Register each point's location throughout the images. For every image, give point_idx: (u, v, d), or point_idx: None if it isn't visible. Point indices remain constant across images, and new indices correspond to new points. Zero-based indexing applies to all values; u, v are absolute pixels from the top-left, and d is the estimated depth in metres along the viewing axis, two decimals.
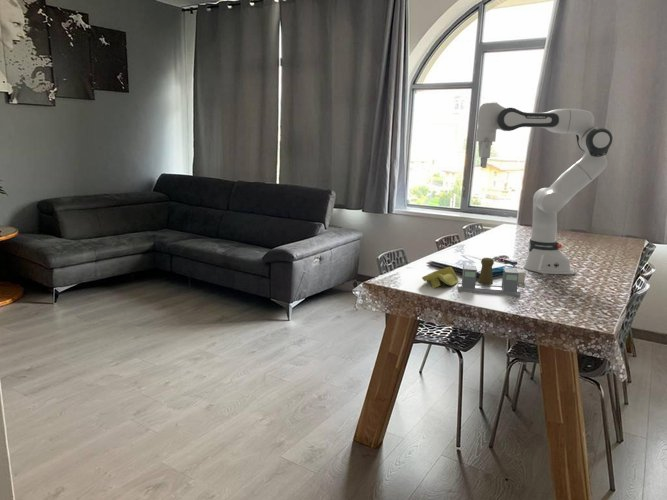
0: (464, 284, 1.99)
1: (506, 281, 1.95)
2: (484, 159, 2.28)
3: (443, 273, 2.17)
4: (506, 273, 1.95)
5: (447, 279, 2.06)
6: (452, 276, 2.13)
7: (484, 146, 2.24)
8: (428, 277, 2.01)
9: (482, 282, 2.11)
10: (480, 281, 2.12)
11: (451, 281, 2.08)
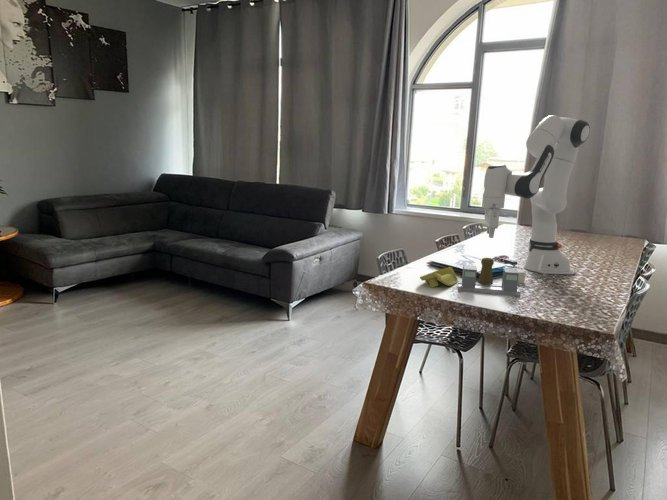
0: (464, 284, 1.99)
1: (506, 281, 1.95)
2: (491, 229, 2.02)
3: (443, 273, 2.17)
4: (506, 273, 1.95)
5: (445, 279, 2.06)
6: (451, 276, 2.12)
7: (491, 215, 1.98)
8: (425, 277, 2.02)
9: (482, 282, 2.11)
10: (480, 281, 2.12)
11: (450, 281, 2.08)
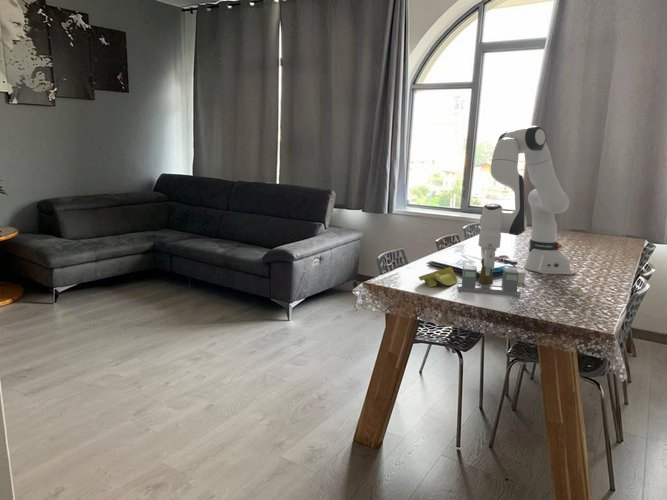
0: (464, 284, 1.99)
1: (506, 281, 1.95)
2: None
3: (443, 273, 2.17)
4: (506, 273, 1.95)
5: (444, 279, 2.06)
6: (451, 276, 2.12)
7: (488, 256, 2.02)
8: (424, 277, 2.02)
9: (482, 282, 2.11)
10: (480, 281, 2.12)
11: (449, 281, 2.08)
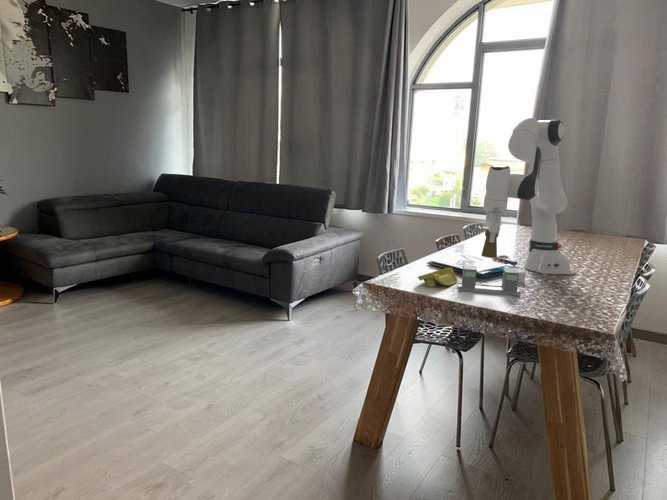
0: (464, 284, 1.99)
1: (506, 281, 1.95)
2: (492, 233, 1.92)
3: (443, 273, 2.17)
4: (506, 273, 1.95)
5: (443, 279, 2.05)
6: (451, 276, 2.12)
7: (493, 219, 1.86)
8: (423, 276, 2.02)
9: (485, 255, 1.97)
10: (483, 254, 1.98)
11: (448, 281, 2.08)
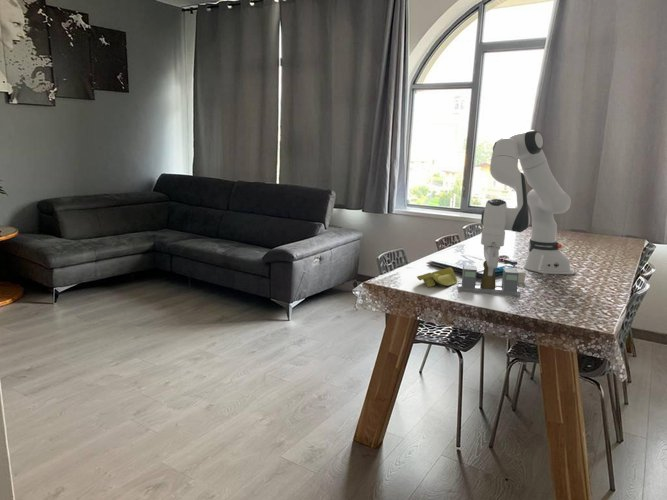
0: (464, 284, 1.99)
1: (506, 281, 1.95)
2: None
3: (443, 273, 2.17)
4: (506, 273, 1.95)
5: (443, 279, 2.05)
6: (450, 277, 2.12)
7: (491, 255, 1.89)
8: (421, 276, 2.02)
9: (484, 286, 1.99)
10: (482, 285, 2.00)
11: (448, 281, 2.08)
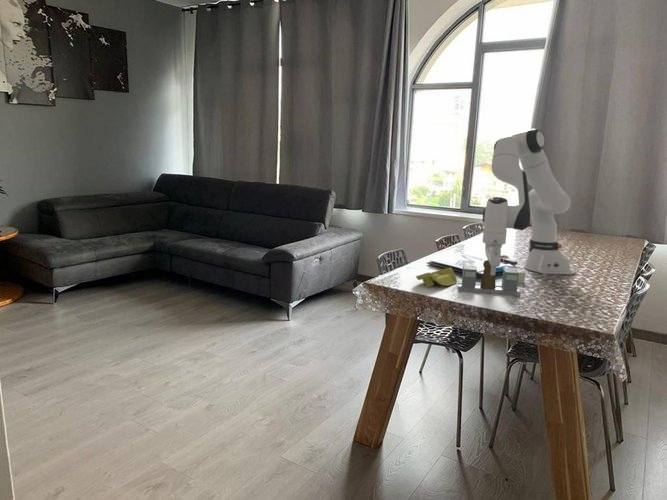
0: (464, 284, 1.99)
1: (506, 281, 1.95)
2: (493, 266, 1.92)
3: (443, 273, 2.17)
4: (506, 273, 1.95)
5: (442, 279, 2.05)
6: (450, 277, 2.11)
7: (493, 253, 1.88)
8: (420, 276, 2.02)
9: (484, 286, 1.99)
10: (482, 285, 2.00)
11: (447, 282, 2.08)
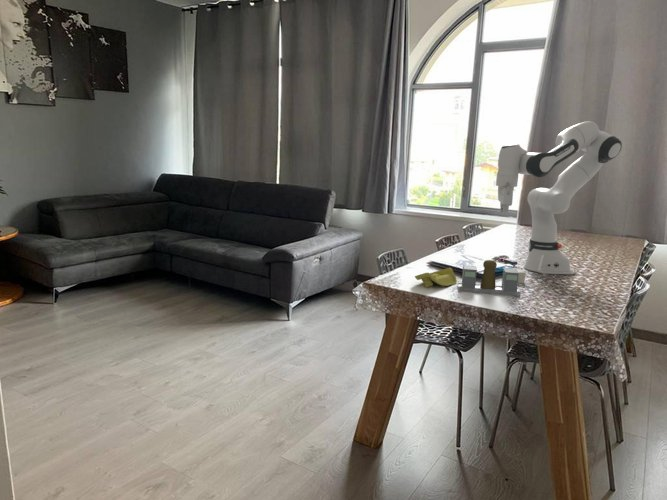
0: (464, 284, 1.99)
1: (506, 281, 1.95)
2: (505, 206, 2.09)
3: (443, 274, 2.16)
4: (506, 273, 1.95)
5: (441, 279, 2.05)
6: (450, 277, 2.11)
7: (506, 193, 2.05)
8: (419, 276, 2.03)
9: (484, 286, 1.99)
10: (482, 285, 2.00)
11: (446, 282, 2.07)
